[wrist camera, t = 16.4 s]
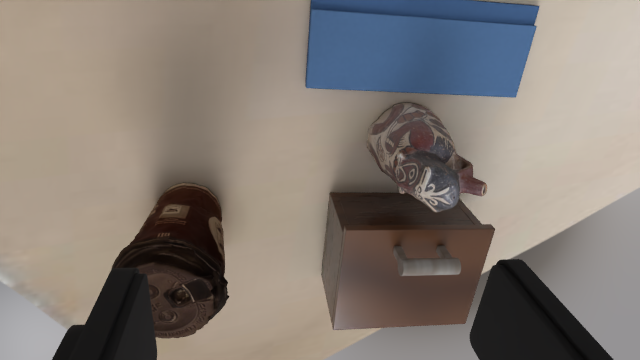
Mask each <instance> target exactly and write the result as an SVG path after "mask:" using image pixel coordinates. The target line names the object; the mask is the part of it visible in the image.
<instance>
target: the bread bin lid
mask: <svg viewBox="0 0 640 360" xmlns="http://www.w3.org/2000/svg"><path fill="white" fill-rule="evenodd" d="M494 231H495V228H494V227H493V226H492V225H491V224H486V225H350V226H344V232H343V240H342V248H341V256H340V264H339V272H338V280H337V288H336V296H335V304H334V312H333V320H332V327H333V330H344V329H365V328H385V327H406V326H426V325H427V326H428V325H448V324H465V323H466V320H467V317H468V314H469V310H470V307H471V304H472V301H473V298H474V295H475V291H476V288H477V285H478V282H479V279H480V276H481V272H482V269H483V266H484V263H485V260H486V257H487V253H488V250H489V247H490V244H491V241H492V238H493V235H494Z"/></svg>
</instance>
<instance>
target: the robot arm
mask: <svg viewBox="0 0 640 360" xmlns="http://www.w3.org/2000/svg"><path fill="white" fill-rule="evenodd" d="M470 342H471V345H472V348H473V349H474V351H475V353H476V354H477V356H478V358H479V359H480V360H613V359H612V358H611V356H610V355H609V354H608V353H607V352H606V351H605V350H604V349H603V348H602V347H601V345H600V344H599V343H598V342H597V341H596V340H595V339H594V338H593V337H592V336H591V335H590V333H589V332H588V331H587V330H586V329H585V328H584V327H583V326H582V325H581V324H580V322H579V321H578V320H577V319H576V318H575V317H574V316H573V315H572V314H571V313H570V312H569V310H567V308H566V307H565V306H564V305H563V304H562V303H561V302H560V301H559V299H558V298H556V296H555V295H554V294H553V293H552V292H551V291H550V290H549V288H548V287H547V286H546V285H545V284H544V283H543V282H542V281H541V280H540V279H539V278H538V276H537V275H536V274H535V273H534V272H533V271H532V270H531V269H530V268H529V267H528V266H527V264H526V263H525V262H524V261H522V260H519V259H513V260H499V261H498V262H497V264H496V265H494V266H493V267H492V268H491V271H490V274H489V277H488V280H487V283H486V286H485V289H484V292H483V295H482V298H481V302H480V305H479V307H478V311H477V314H476V317H475V320H474V323H473V326H472V329H471V332H470ZM52 360H157V346H156V339H155V331H154V323H153V316H152V308H151V300H150V293H149V285H148V278H147V274H145V273H143V274H140V272H139V269H138V268H113V269H112V270H111V272H110V274H109V276H108V278H107V280H106V282H105V284H104V286H103V288H102V290H101V292H100V295H99V297H98V299H97V301H96V303H95V305H94V307H93V309H92V311H91V313H90V315H89V318H88V320H87V322H86V324H85V325H73V326H71V327H70V328H69V329H68V331H67V333H66V334H65V336H64V338H63V340H62V342H61V344H60V346H59V347H58V349H57V351H56V353H55V355H54V357H53V359H52Z"/></svg>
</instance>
